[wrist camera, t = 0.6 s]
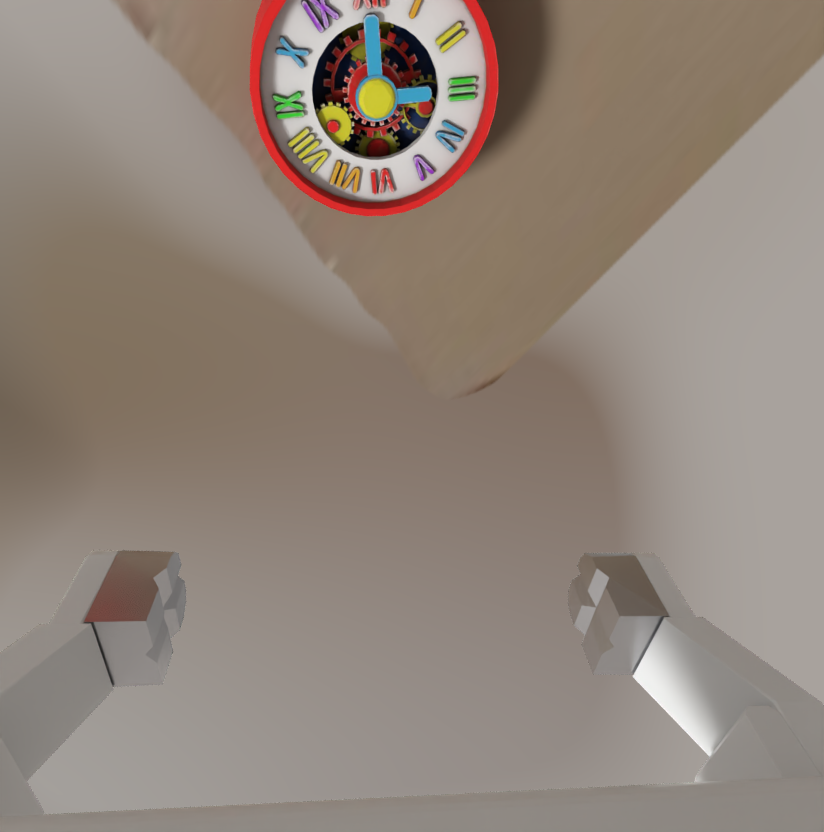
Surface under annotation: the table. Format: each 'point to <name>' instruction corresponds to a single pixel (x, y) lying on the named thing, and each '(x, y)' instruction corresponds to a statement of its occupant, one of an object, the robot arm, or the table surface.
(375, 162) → the toy clock
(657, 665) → the robot arm
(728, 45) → the table surface
